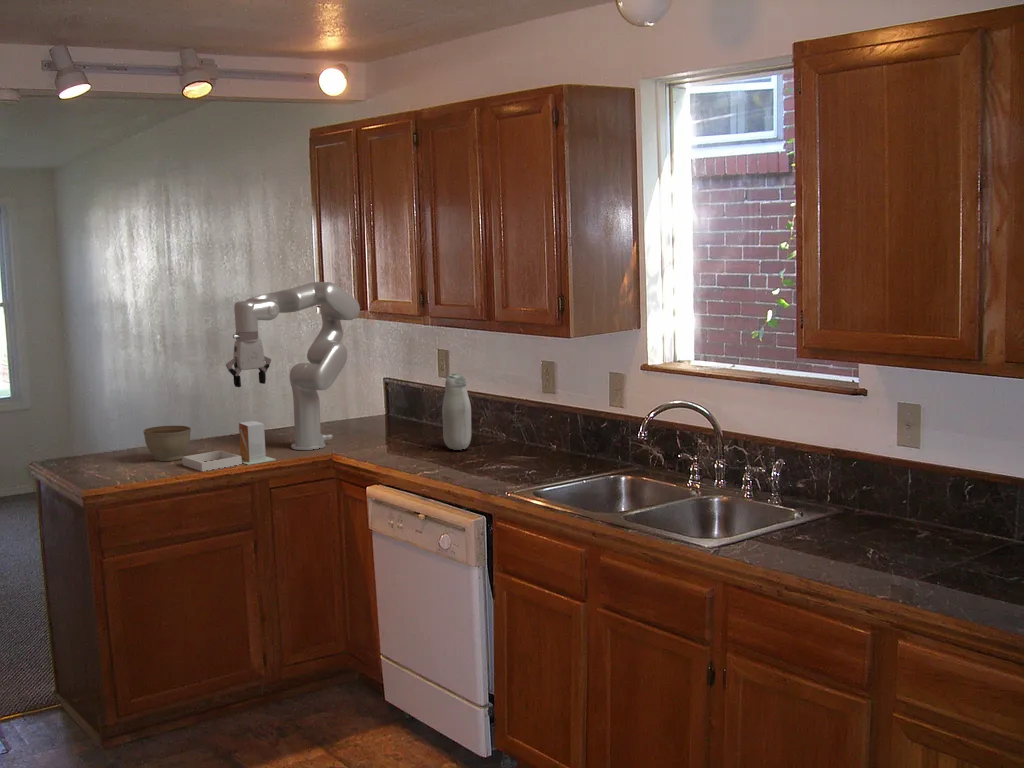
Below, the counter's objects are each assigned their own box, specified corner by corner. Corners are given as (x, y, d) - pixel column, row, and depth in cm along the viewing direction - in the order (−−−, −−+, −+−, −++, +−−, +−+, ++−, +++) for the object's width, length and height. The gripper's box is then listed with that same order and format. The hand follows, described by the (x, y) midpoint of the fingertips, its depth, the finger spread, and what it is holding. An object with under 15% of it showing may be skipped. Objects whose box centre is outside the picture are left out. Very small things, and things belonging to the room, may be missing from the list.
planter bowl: (177, 464, 376) (175, 433, 375) (136, 462, 380) (134, 432, 379) (201, 455, 392) (199, 425, 390) (161, 453, 396) (159, 424, 394)
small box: (240, 458, 382) (238, 422, 380) (257, 456, 386) (255, 420, 384) (249, 462, 376) (247, 425, 374) (266, 460, 379) (264, 423, 378)
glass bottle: (477, 449, 393) (475, 373, 389) (455, 454, 386) (454, 376, 382) (459, 446, 400) (457, 371, 396) (438, 450, 393) (436, 374, 389)
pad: (260, 455, 389) (260, 454, 389) (275, 460, 381) (275, 459, 381) (232, 460, 381) (232, 459, 381) (247, 465, 373) (247, 464, 373)
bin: (221, 458, 385) (221, 450, 384) (241, 464, 374) (241, 456, 374) (182, 465, 375) (182, 456, 375) (202, 471, 364) (201, 462, 364)
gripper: (230, 339, 367) (233, 389, 370) (274, 335, 379) (277, 383, 382) (219, 338, 373) (222, 387, 375) (263, 333, 384) (266, 381, 387)
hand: (250, 385), depth 378 cm, fingers open, 9 cm apart
